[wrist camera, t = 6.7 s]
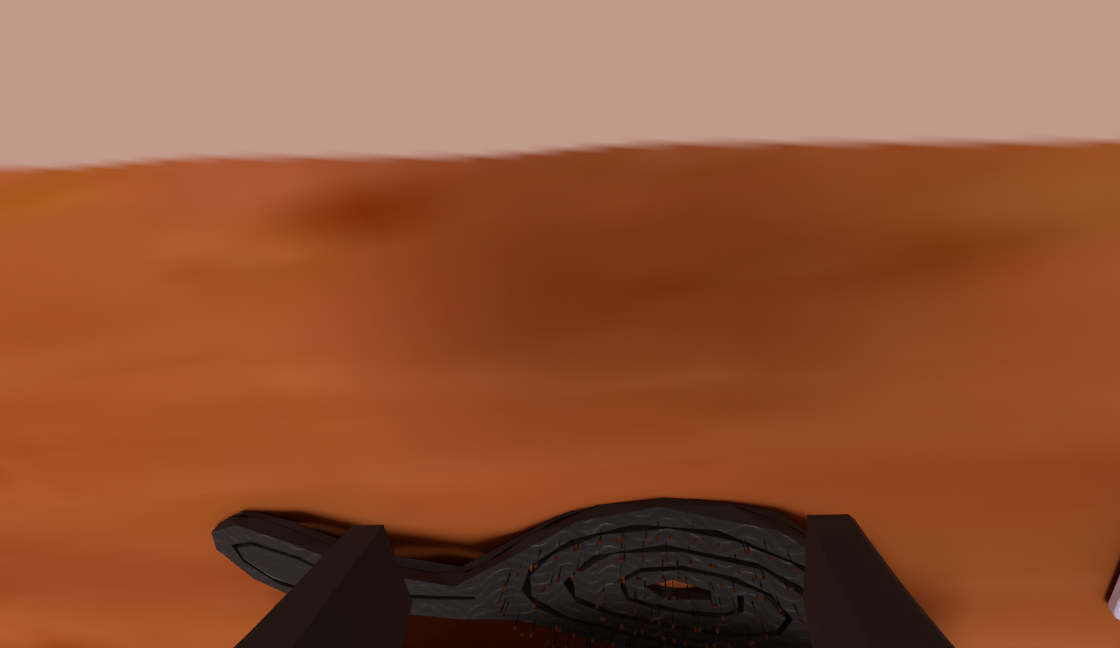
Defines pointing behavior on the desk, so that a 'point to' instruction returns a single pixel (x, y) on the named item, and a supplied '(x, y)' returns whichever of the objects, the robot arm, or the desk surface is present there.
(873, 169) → the desk surface
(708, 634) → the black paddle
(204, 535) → the desk surface
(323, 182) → the desk surface
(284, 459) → the desk surface
